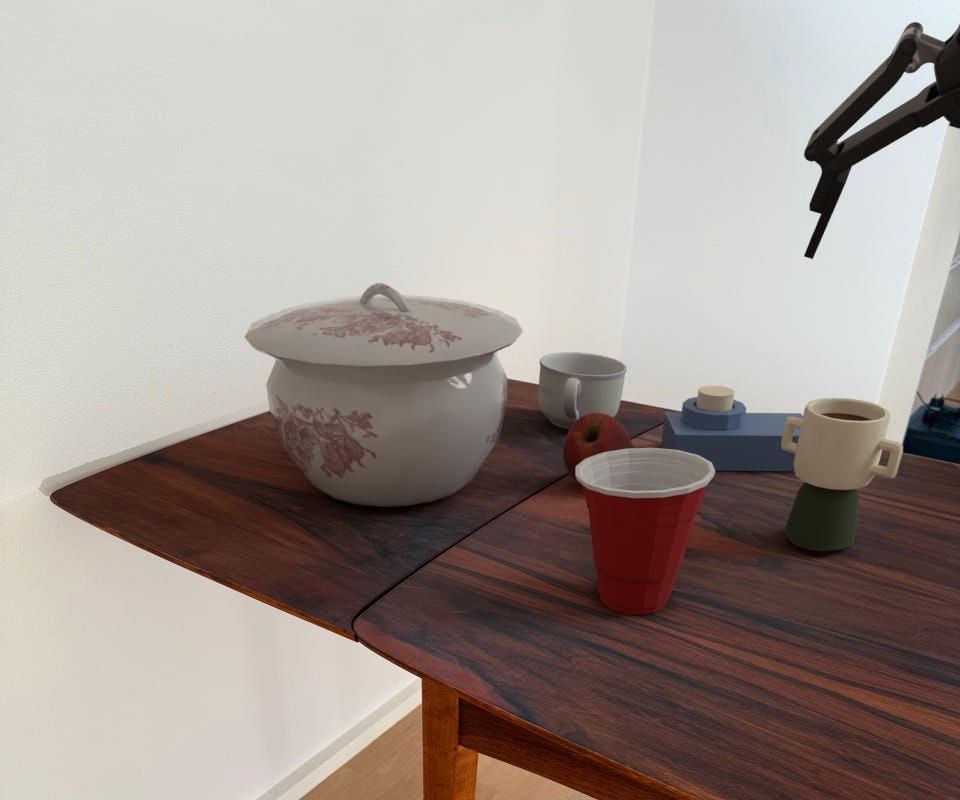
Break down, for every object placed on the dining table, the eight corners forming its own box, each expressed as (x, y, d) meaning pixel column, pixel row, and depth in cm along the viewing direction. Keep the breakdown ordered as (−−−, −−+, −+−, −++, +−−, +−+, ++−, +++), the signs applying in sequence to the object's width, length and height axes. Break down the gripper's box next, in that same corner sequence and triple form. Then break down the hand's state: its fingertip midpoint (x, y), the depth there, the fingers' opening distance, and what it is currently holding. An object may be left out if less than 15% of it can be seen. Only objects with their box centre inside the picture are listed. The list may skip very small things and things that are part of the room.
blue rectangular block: (793, 445, 106) (802, 396, 103) (813, 471, 99) (824, 419, 96) (660, 444, 107) (666, 395, 104) (671, 470, 100) (677, 418, 96)
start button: (727, 403, 102) (730, 385, 101) (735, 414, 99) (738, 395, 98) (693, 402, 102) (695, 385, 101) (699, 413, 99) (702, 395, 98)
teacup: (555, 406, 119) (558, 346, 115) (632, 417, 115) (638, 355, 111) (513, 437, 109) (515, 372, 105) (596, 451, 105) (601, 384, 101)
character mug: (889, 549, 83) (927, 413, 76) (856, 575, 78) (892, 433, 71) (782, 515, 89) (808, 387, 82) (746, 537, 85) (770, 404, 78)
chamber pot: (506, 545, 83) (510, 318, 72) (228, 529, 86) (191, 309, 75) (528, 444, 107) (534, 261, 96) (309, 434, 110) (290, 256, 99)
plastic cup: (610, 557, 81) (621, 431, 75) (717, 593, 76) (739, 459, 69) (541, 602, 74) (547, 467, 68) (654, 645, 68) (671, 502, 62)
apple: (546, 485, 96) (548, 413, 92) (589, 466, 101) (594, 397, 96) (600, 504, 91) (606, 430, 87) (643, 483, 96) (651, 412, 92)
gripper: (839, -57, 53) (733, 253, 71) (1278, 52, 49) (1046, 351, 67) (863, -104, 56) (756, 203, 75) (1274, -6, 52) (1055, 293, 71)
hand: (893, 274), depth 71 cm, fingers open, 13 cm apart
